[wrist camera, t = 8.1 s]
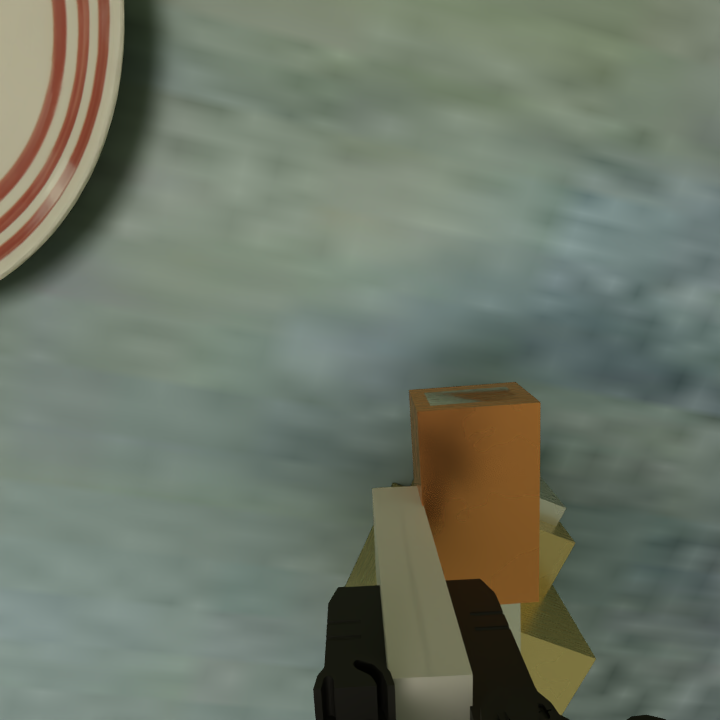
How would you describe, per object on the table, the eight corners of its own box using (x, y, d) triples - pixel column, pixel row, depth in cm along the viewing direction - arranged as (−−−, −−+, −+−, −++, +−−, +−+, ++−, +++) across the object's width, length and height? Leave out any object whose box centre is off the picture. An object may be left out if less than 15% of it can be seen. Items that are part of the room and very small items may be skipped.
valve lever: (425, 744, 20) (442, 871, 16) (403, 375, 16) (419, 416, 12) (503, 739, 19) (541, 865, 15) (499, 368, 16) (546, 407, 12)
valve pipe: (435, 689, 30) (467, 869, 21) (316, 649, 29) (299, 818, 21) (551, 471, 27) (646, 576, 18) (421, 420, 26) (454, 504, 18)
